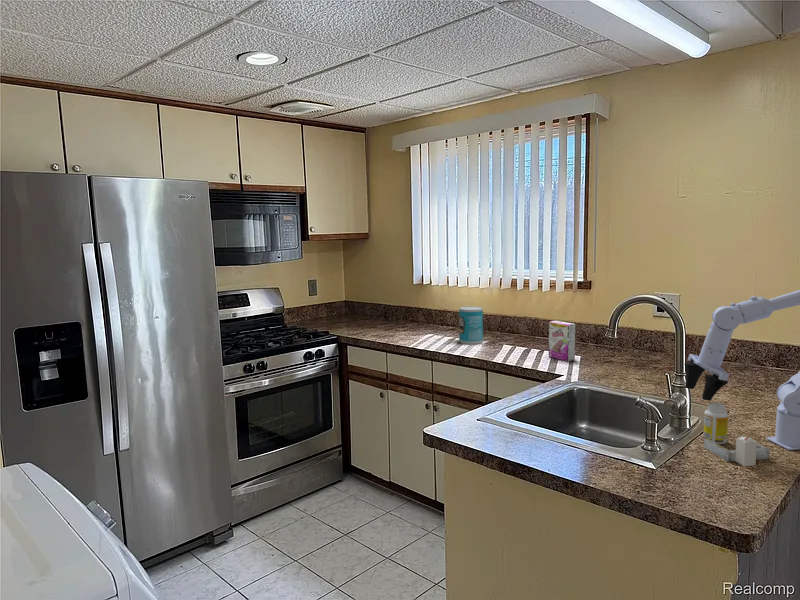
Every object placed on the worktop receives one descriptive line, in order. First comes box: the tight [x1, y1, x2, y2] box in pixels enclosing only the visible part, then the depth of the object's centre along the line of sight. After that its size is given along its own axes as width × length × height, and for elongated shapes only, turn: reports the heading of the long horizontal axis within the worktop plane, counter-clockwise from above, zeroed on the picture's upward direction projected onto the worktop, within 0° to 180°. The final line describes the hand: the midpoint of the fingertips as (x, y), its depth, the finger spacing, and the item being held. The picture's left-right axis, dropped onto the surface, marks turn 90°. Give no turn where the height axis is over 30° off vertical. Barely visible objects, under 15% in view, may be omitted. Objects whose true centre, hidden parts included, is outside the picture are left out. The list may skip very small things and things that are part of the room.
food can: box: [458, 305, 484, 346], centre depth 282 cm, size 12×12×18 cm
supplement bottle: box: [702, 402, 729, 445], centre depth 148 cm, size 6×6×10 cm
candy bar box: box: [548, 320, 576, 363], centre depth 243 cm, size 11×5×16 cm, turn 34°
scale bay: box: [703, 435, 770, 463], centre depth 140 cm, size 11×9×2 cm
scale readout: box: [734, 436, 758, 467], centre depth 134 cm, size 3×3×6 cm
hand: (697, 393), depth 153 cm, fingers open, 7 cm apart
